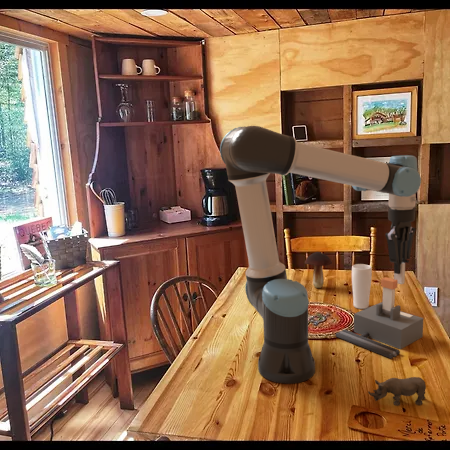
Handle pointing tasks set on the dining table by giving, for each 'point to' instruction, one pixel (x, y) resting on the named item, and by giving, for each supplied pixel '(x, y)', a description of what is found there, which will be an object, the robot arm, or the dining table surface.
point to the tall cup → (361, 285)
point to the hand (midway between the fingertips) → (399, 282)
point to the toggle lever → (388, 294)
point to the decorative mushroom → (318, 267)
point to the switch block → (389, 325)
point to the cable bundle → (368, 343)
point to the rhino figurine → (401, 389)
